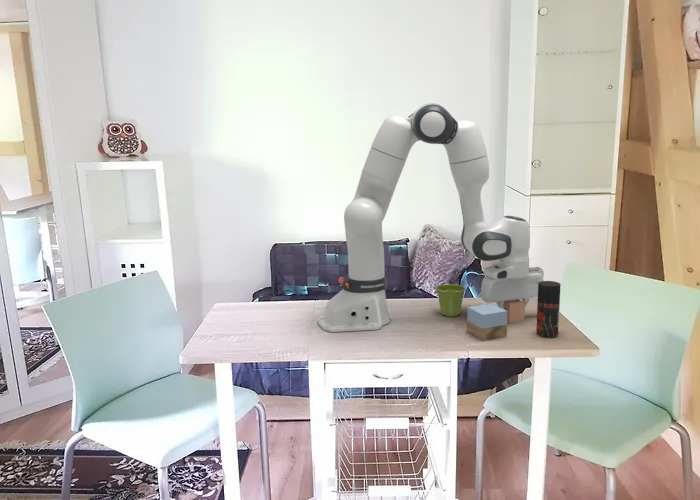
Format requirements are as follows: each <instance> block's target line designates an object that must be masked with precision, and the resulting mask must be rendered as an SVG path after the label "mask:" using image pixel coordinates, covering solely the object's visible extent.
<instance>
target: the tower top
mask: <svg viewBox="0 0 700 500" xmlns="http://www.w3.org/2000/svg"><path fill="white" fill-rule="evenodd" d="M466 311H467V312H466V313H467V314H466V315H467V317H466V318H467V319H466V321H467V320H468V321H470V322H471V323H473V324H475V325H477V326H479V327H480V328H482V329H483V328H489V327H496V326H502V325H507V326H508V322H507V311H506V310H504V309H502V308H500V307H498V305H497V304H496V305H495V304H493V303H486V304H485V303H484V304H479V305H477V304H476V305H472V306H467V310H466Z"/></svg>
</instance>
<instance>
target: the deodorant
mask: <svg viewBox="0 0 700 500" xmlns="http://www.w3.org/2000/svg"><path fill="white" fill-rule="evenodd" d="M560 304H561V283H560V282H558V281H553V280H544V281H541V282H539V283H538V297H537V306H536V307H537V308H536V330H535V331H536V333H535V334H536V336H538V337H541V338H543V339H555V338H557V337H558V336H559V321H560Z"/></svg>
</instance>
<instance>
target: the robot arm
mask: <svg viewBox="0 0 700 500" xmlns="http://www.w3.org/2000/svg"><path fill="white" fill-rule="evenodd" d="M419 141H421V142H423V143H425V144H430V145H442V146H444V148H445V151H446V154H447V159H448V165H449V168H450V171H451V176H452V179H453V182H454V184H455V186H456V190H457V193H458V196H459V203H460V207H461V215H462V218H463V219H462V221H463V227H462V231H461V236H460V241H461V245H462V247H463V249H464V250H465V251H466V252H468V253H469V254H471V255H473V256H474V257H475V258H476V259H478V260H481V261H483V262H490V261H496V260H498V262H496V263H494V264H492V265H490V266H487V267H485V268H484V269H483V275H484V276H485V277H483V279H482V281H481V285H480V286H481V288H480V297H481V299H482V300H483V302H485V303H486V304H492V303H496V306H498V307H500V308H502V309H504V310H506V311H507V309H505V308H504V307H503V305H502V304H504V301H508V300H517V299H519V300H521V301H523V302H525V304H524V313H525V312H526V307H527V306H528V304H529V302H530V299H533V298H538V283H539V282H541V281H545V280H544V276H545V275H544V270H543V268H541V267H540V266H534V267H531V266H530V255H529V250H530V245H531V231H530V224H529V221H527V220H526V219H525V218H523V217H520V216H519V217H518V216H515V215H504V216H502V218H500V219H499V220H498V221H496V222H495V223H492V224H490V225H488V224H487V223H486V221H485V217H484V212H483V203H482V197H481V192H482V189H483V187H484V185H486V183H487V182H488V180H489V177H490V163H489V157H488V153H487V152H488V151H487V148H486V144H485V141H484V138H483V135H482V132H481V130H480V128H479V125H478V124H477V123H476V122H474V121H472V120H468V119H467V120H466V119H463V120H462V119H461V120H458V121H457V120H456V119H455V118H454V117H453V116H452V115H451V113H450V112H449V111H448V110H447V109H446V108H445V107H444V106H443V105H441V104H438V103H433V102H429V103H425V104H423V105H421V106H420V107H418V108H417V109H416V110H415V111H414V112H413V113H411V114H410V115H409V116H407V117H404V116H401V115H391V116H388V117H386V118H385V119H384V120H383V122H382V124H381V126H380V128H379V129H378V130H377V133H376V135H375V137H374V139H373V141H372V144H371V146H370V149H369V151H368V153H367V154H368V155H367V157H366V158H365V162H364V164H363V168H362V170H361V174H360V177H359V181H358V184H357V188H356V190H355V194H354V197H353V199H352V200H351V202H350V203H349V204H348V205H347V206H346V208H345V210H344V213H343V221H344V222H343V223H344V232H345V233H344V234H345V241H346V246H347V259H348V260H347V261H348V265H347V266H348V276H347V277H346V278H345V277H343V276H339V278H338V279H337V281H338V283H339V284H340V285H342V289H341V290H340V291H339V292H338V293H336V294H335V295H334V296H333V297H331V298H330V299H329V300H328V301H327V302H326V304H325V310H324V315H321V316H319V317H318V318H317V319H318V320H317V324H318V326H319V327H320V328H321V329H322V330H323V331H327V332H330V333H338V332H339V333H341V332H342V333H343V332H356V331H372V330H373V331H375V330H380V329H382V327H383V326H386V325H387V324H389V323H390V322H391V318H390V314H389V310H388V303H387V297H386V294H387V277H386V275H385V249H384V239H383V222H384V220H385V217H386V214H387V212H388V209H389V207H390V204H391V201H392V199H393V196H394V193H395V191H396V187H397V184H398V183H399V179H400V178H401V175H402V172H403V169H404V167H405V164H406V161H407V160H408V157H409V154H410V151H411V150H412V148H413V146H414V145H415V144H416V143H417V142H419Z"/></svg>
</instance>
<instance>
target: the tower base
mask: <svg viewBox="0 0 700 500" xmlns="http://www.w3.org/2000/svg"><path fill="white" fill-rule="evenodd" d="M466 333H467V334H468V335H471V336H473V337H475V338H477V339H479V340H481V341H483V342H486V340H487V341H491V339H492V340H496V338H497V339H501V338H505V337H507V336H508V324H507V325H502V326H496V327H489V328H483V329H482V328H480V327H479V326H477V325H475V324H473V323H471V322H470V321H468V320H467V319H466Z"/></svg>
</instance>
